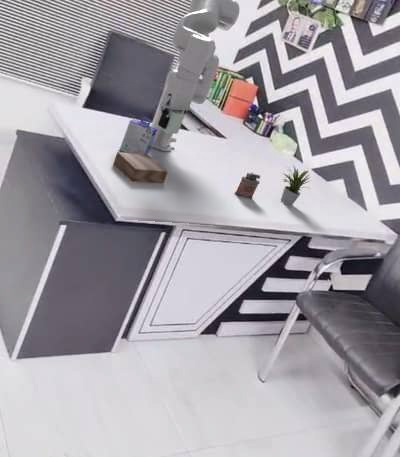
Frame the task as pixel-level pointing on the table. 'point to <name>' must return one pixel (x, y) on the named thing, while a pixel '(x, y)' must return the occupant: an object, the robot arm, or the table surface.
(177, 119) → the sage box
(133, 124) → the ink cartridge box
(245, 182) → the lighter
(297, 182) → the house plant
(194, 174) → the table surface
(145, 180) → the walnut block
